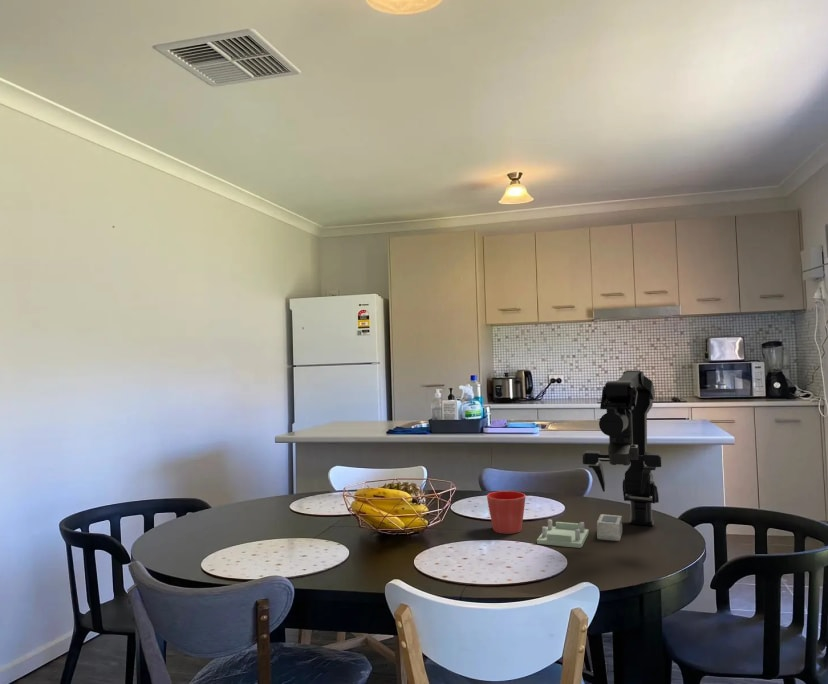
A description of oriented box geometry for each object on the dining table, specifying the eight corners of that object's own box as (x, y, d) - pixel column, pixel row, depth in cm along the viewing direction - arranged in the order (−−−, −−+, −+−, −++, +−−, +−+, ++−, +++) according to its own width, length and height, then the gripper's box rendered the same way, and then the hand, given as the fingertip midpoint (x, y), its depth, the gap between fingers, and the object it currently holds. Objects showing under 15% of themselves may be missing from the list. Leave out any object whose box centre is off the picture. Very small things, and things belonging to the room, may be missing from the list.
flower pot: (481, 532, 169) (480, 497, 170) (495, 523, 179) (494, 489, 179) (519, 537, 164) (518, 500, 165) (531, 527, 174) (530, 492, 174)
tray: (547, 529, 171) (547, 516, 171) (588, 533, 167) (588, 520, 167) (537, 543, 158) (536, 529, 158) (581, 547, 154) (580, 533, 154)
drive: (601, 530, 170) (600, 513, 170) (622, 532, 168) (621, 515, 168) (597, 539, 162) (596, 521, 162) (619, 541, 160) (619, 523, 160)
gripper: (578, 434, 154) (581, 497, 153) (659, 436, 147) (662, 502, 146) (584, 428, 164) (586, 487, 164) (660, 429, 157) (662, 491, 157)
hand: (622, 492), depth 157 cm, fingers open, 9 cm apart
